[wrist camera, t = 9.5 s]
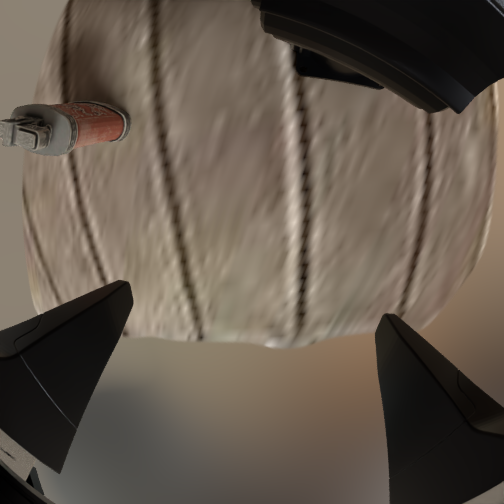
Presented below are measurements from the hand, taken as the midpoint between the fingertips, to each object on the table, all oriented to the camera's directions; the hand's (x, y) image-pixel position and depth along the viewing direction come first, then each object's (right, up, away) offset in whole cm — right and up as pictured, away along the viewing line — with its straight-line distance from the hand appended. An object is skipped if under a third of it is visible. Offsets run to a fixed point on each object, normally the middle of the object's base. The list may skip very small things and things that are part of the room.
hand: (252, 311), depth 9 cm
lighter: (-14, +14, +10) cm, 22 cm away
